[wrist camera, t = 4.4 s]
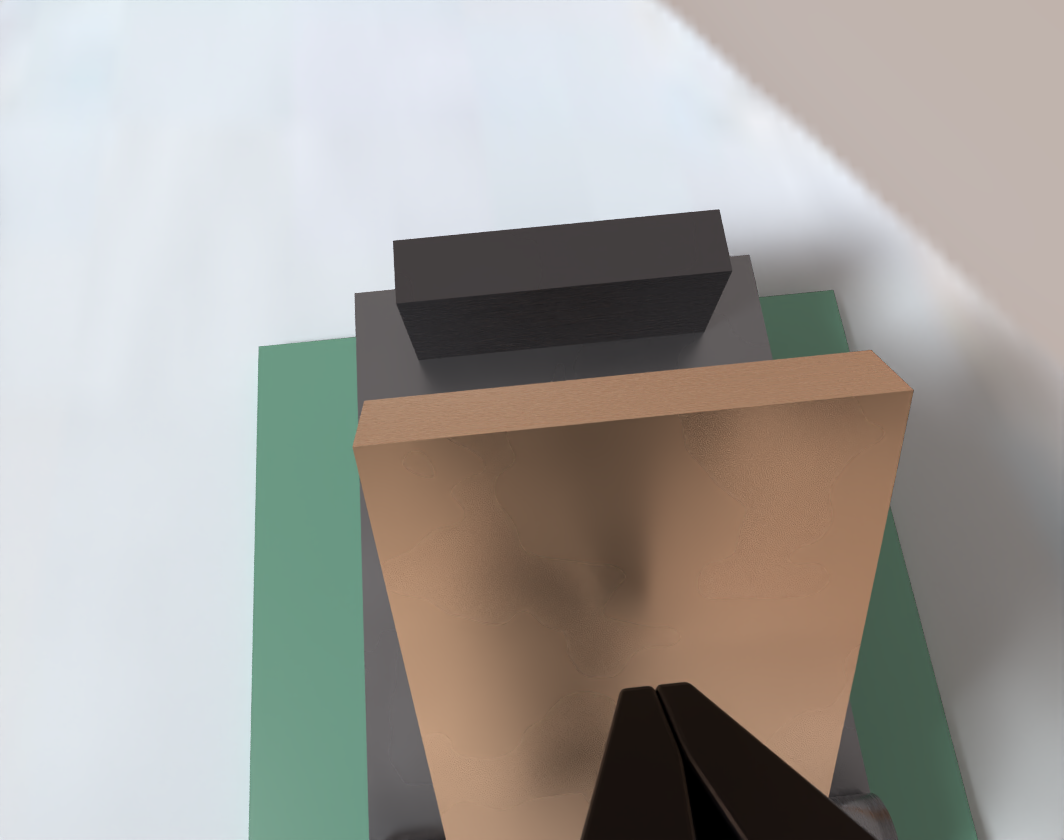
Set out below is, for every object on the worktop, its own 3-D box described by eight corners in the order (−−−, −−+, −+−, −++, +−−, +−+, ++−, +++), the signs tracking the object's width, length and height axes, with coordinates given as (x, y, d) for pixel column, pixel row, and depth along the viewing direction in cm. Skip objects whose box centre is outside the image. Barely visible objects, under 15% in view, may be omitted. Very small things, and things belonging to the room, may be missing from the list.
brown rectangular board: (788, 834, 14) (809, 890, 13) (467, 870, 14) (466, 928, 13) (871, 350, 9) (913, 390, 8) (364, 400, 9) (351, 446, 8)
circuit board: (1022, 1057, 18) (1038, 1069, 17) (251, 1147, 17) (242, 1162, 17) (826, 299, 24) (833, 290, 24) (265, 354, 24) (258, 346, 23)
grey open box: (832, 935, 18) (1013, 1093, 11) (415, 982, 18) (332, 1174, 11) (712, 331, 23) (783, 183, 16) (388, 363, 23) (322, 227, 16)
